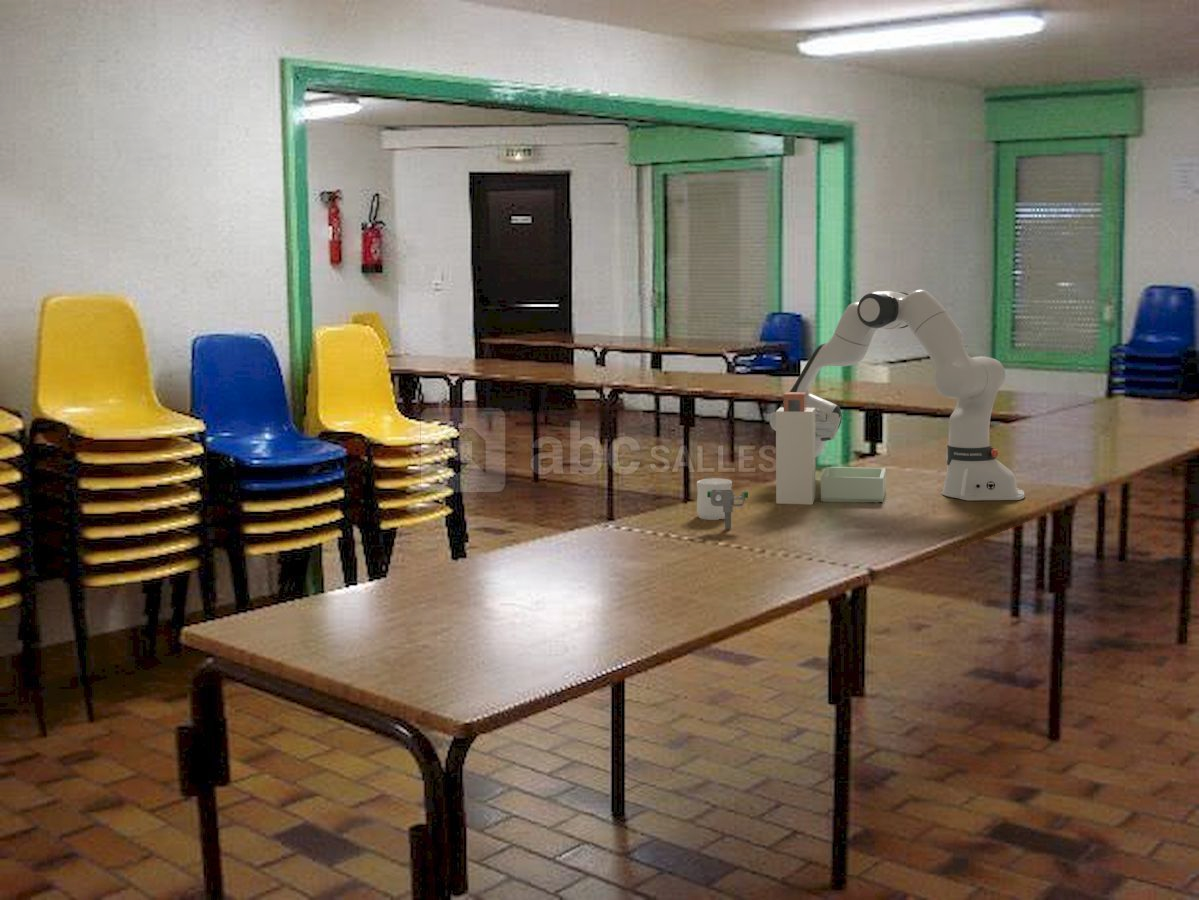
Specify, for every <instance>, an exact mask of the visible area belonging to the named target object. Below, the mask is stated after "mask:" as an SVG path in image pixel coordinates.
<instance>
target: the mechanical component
mask: <svg viewBox="0 0 1199 900" xmlns="http://www.w3.org/2000/svg"><path fill="white" fill-rule="evenodd" d="M717 495H720V496H721V499H717V498H716V496H717ZM707 497H710V498H711V504H712V505H713V506H723V512H725V519H724V528H725V530H726V529H730V530H731V529H732V515H731V512H732V513H733V512H734V509H733V507H742V506H744V504H745V502H746V499H749V491H745V490H742V491H741V493H740V495H739V496H736V494H735V493H734V490H733V489H731V490H711V491H708V492H707ZM734 500H739V501H742V502H735V501H734Z"/></svg>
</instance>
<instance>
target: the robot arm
mask: <svg viewBox="0 0 1199 900" xmlns="http://www.w3.org/2000/svg"><path fill="white" fill-rule="evenodd" d="M907 327H909V329H910V330H911V331H912V333H913V335H914V336H915V337H916V338H917V340H918V342H919V343H920V344H921V346H922V347H923V349H924V350H925V351H926V353H927V354H928V357H929V358H930V361H931V362H932V366H933V368H934V372H935V373H934V377H933V383H934V387H935V389H936V391H937V392H938V394H940V395H941V396H943V397H945V398H950V399H956V400H957V403H956V406H955V408H954V410H953V412H952V413H950V414H951V415H949V420H948V444H947V445H946V465H947V468H946V477H945V481H944V486H943V489H942V491H941V494H942V495H943V496H945V497H949V498H955V499H960V500H963V501H1019V500H1022V499H1024V498H1025V491H1024V490H1023V489H1020V488H1019V487H1018V483H1017V479H1016V476H1015V474H1014V472H1013V471H1012V470H1010V469H1009V468H1008V467H1007V466H1005V465H1004V464H1003V463H1001V462H1000V461H999V460H998V459H997V457H998V456H999V454H1000V453H999V450H998V449H997V448H995V447H994V446H992V445H990V426H991V425H990V424H991V416H992V412H993V407H994V404H995V400H996V398H997V395H998V392H999V390H1000V388H1001V387H1002V386H1003V384H1004V382H1005V380H1006V369H1005V367H1004V366H1003V364H1002V363H1001V361H999V360H998V359H996V358H993V357H989V356H984V355H983V356H982V355H980V356H973V357H971V356H969V354H968V353H967V351H966V349H965V347H964V343H963V340H964V333H963V331H962V330H961V328H960V327H959V326H958V325H957V323H956V322H955V321H954V319H953V318H952V316H951V315H950V314H949V312H948V310H946V309H945V307H944V306H943V305H942V303H940V302H939V300H938V299H937V298H935V296H933V295H932V294H931V293H930V292H929V291H928V290H925V289H917V290H913V291H912V292H909V293H906V292H902V291H901V292H897V291H892V290H882V291H881V290H880V291H878V290H877V291H872V292H869V293H867V294H865V295H864V296H862V298H861V299H860V300H859V301H854V302H851V303H850V304H848V306H847V307H846V308H845V310H844V311H843V314H842V315H841V317H840V319H839V321H838V323H837V325H836V328H835V330H834V333H833V336H832V337H831V338H830V339H829V340H828V341H827V342H826V343H821V344H819V345H818V347H816V349H815V350H814V351H813V353H812V354H811V356H810V357H809V359H808V360H807V362H806V363H805V366H804V367H803V368H802V371H801V373H800V374H799V376H798V378H797V380H796V381H795V383H794V384H793V386H792V388H791V389H790V390H789V392H806V408H815V458H817V457H819V456H820V455H822V453H823V451H824V448H825V445H826V442H827V441H832V440H835V438H836V435H837V433H838V431H839V429H840V426H841V423H842V419H843V417H842V410H841V408H840V405H838V404H836V403H834V402H832V401H829V400H827V399H824V398H822V397H820V396H817V395H815V394H813V393H811V392H810V390H809V389H810V387H811V386H812V384H813V382H814V380H815V379H816V377H817V375H818V373H819V372H820V370H821V369H822V368H823V367H849V366H853V365H856V364H858V363H860V362H861V361H862V360H864V357H865V356H866V353H867V352H868V350H869V347H870V345H871V342H872V339H873V337H874V334H875V333H876V331H877V330H878V329H884V330H885V329H886V330H895V329H904V328H907ZM781 407H784V401H783V402H782V405H781ZM769 425H770V427H771V429H772V430H773V431H775V432H776V411H775V412H771V413H770V417H769Z"/></svg>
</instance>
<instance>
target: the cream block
mask: <svg viewBox="0 0 1199 900" xmlns="http://www.w3.org/2000/svg"><path fill="white" fill-rule="evenodd" d="M775 412H776V431H775V460H776V461H775V494H776V495H775V503H776V504H779V505H781V504H782V505H784V504H785V505H813V504H814V501H815V500H816V457H815V408H806V410H805V411H804V412H784V407H782V406H780V407H779V408H778V409H776V411H775Z"/></svg>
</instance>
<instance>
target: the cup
mask: <svg viewBox="0 0 1199 900" xmlns="http://www.w3.org/2000/svg"><path fill="white" fill-rule="evenodd" d="M732 484H733V481H732V479H728V478H722V477H721V478H720V477H709V478H703V479H699V480H697V481H696V490H697V496H696V497H697V500H696V501H697V502H696V513H697V516H698V518H700V519H701V520H708V521H720V520H719V519H722V520H725V512H723V506H713V505H712V504H711V498H710V497H707V492H708V491H711V490H732V486H733V485H732ZM716 498H717V499H721V496H720V495H717V496H716ZM732 515H733V512H731V516H732Z"/></svg>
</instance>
